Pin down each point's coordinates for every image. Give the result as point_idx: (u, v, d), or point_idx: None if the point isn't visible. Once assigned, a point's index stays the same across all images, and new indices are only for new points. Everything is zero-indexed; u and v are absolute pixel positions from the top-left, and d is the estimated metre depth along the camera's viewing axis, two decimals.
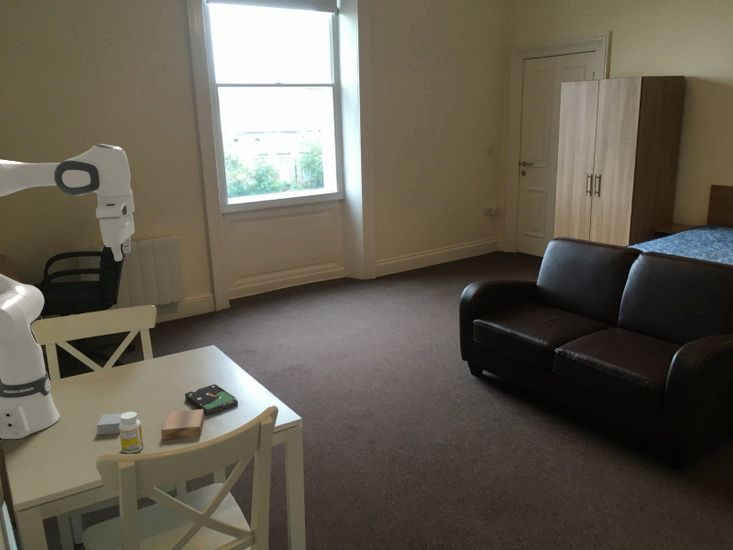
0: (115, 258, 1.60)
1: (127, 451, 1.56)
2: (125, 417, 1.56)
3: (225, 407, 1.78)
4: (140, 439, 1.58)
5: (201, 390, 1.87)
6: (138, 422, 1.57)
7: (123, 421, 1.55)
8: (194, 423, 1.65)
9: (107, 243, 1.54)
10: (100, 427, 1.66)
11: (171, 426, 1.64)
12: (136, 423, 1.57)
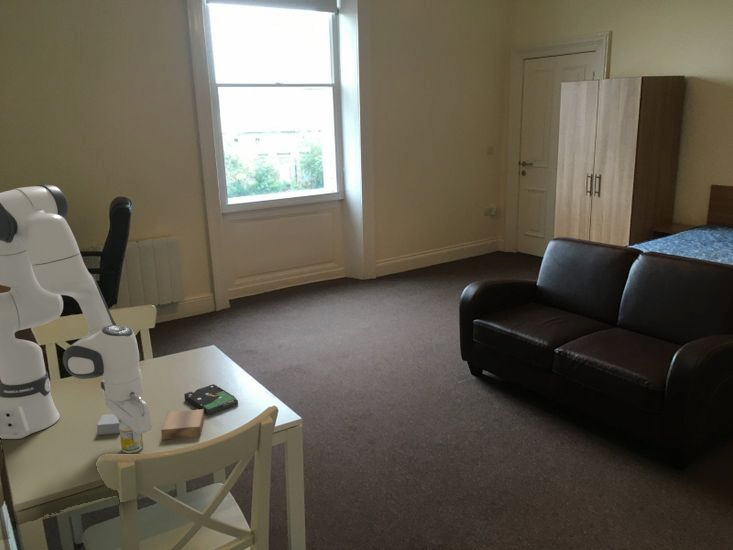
0: None
1: (127, 451, 1.56)
2: None
3: (226, 406, 1.79)
4: None
5: (200, 390, 1.87)
6: None
7: None
8: (194, 423, 1.65)
9: None
10: (100, 427, 1.66)
11: (171, 426, 1.64)
12: None
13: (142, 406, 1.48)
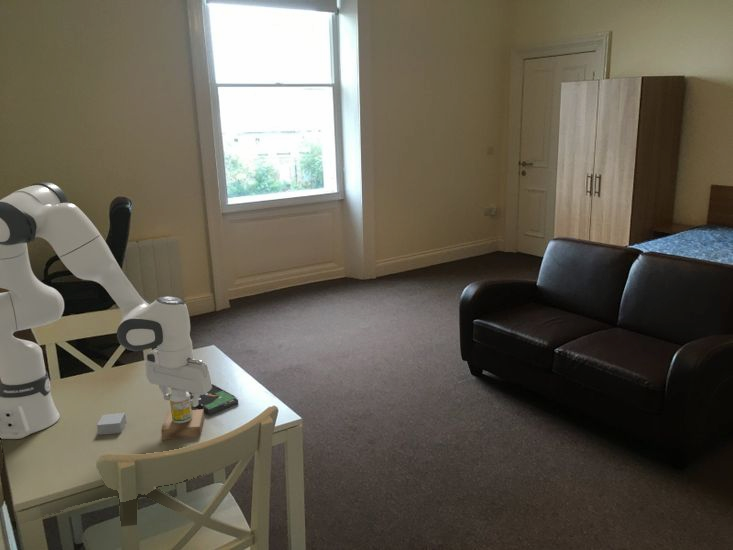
0: None
1: (181, 421, 1.65)
2: (177, 389, 1.64)
3: (226, 406, 1.79)
4: None
5: None
6: (187, 392, 1.67)
7: (176, 393, 1.63)
8: (194, 423, 1.65)
9: None
10: (100, 427, 1.66)
11: (171, 426, 1.64)
12: (187, 393, 1.66)
13: (206, 367, 1.59)
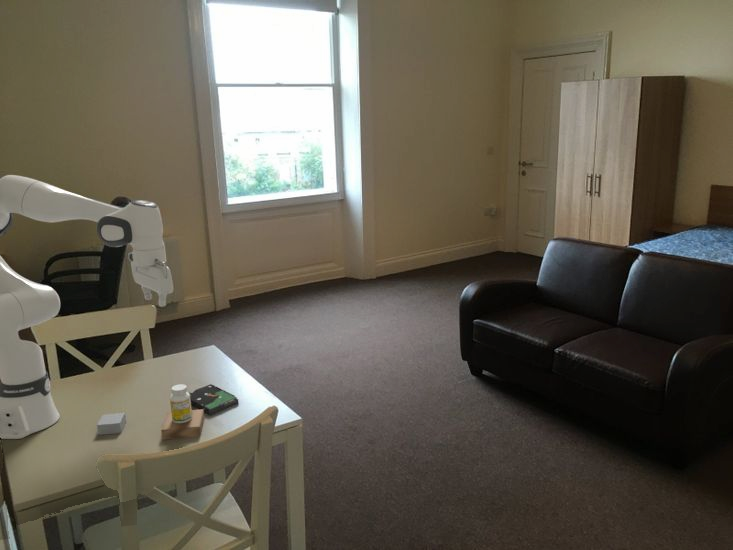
0: None
1: (181, 421, 1.65)
2: (177, 389, 1.64)
3: (227, 406, 1.79)
4: None
5: (198, 391, 1.87)
6: None
7: (176, 393, 1.63)
8: (194, 423, 1.65)
9: None
10: (100, 427, 1.66)
11: (171, 426, 1.64)
12: (187, 394, 1.66)
13: (165, 268, 1.68)
